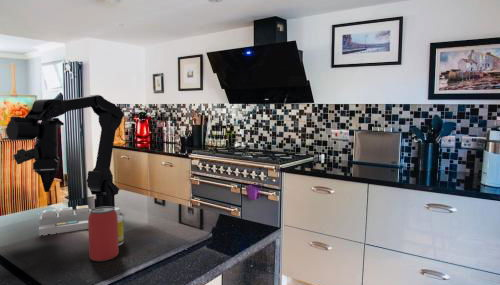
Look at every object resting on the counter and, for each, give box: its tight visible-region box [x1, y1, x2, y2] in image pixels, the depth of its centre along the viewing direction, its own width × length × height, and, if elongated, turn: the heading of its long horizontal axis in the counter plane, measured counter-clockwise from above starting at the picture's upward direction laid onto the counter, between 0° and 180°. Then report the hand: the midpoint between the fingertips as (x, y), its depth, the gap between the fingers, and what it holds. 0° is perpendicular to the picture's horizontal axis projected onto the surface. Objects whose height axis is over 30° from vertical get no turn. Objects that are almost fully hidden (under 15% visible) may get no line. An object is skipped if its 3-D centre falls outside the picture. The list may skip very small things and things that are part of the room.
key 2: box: [75, 204, 89, 214], centre depth 109 cm, size 3×3×2 cm
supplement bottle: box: [114, 206, 125, 247], centre depth 90 cm, size 5×5×10 cm
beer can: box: [87, 206, 120, 262], centre depth 81 cm, size 7×7×12 cm
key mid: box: [59, 206, 73, 216], centre depth 106 cm, size 3×3×2 cm
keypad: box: [38, 208, 91, 237], centre depth 106 cm, size 14×14×4 cm
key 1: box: [42, 208, 57, 219], centre depth 104 cm, size 3×3×2 cm
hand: (47, 189), depth 104 cm, fingers open, 9 cm apart
